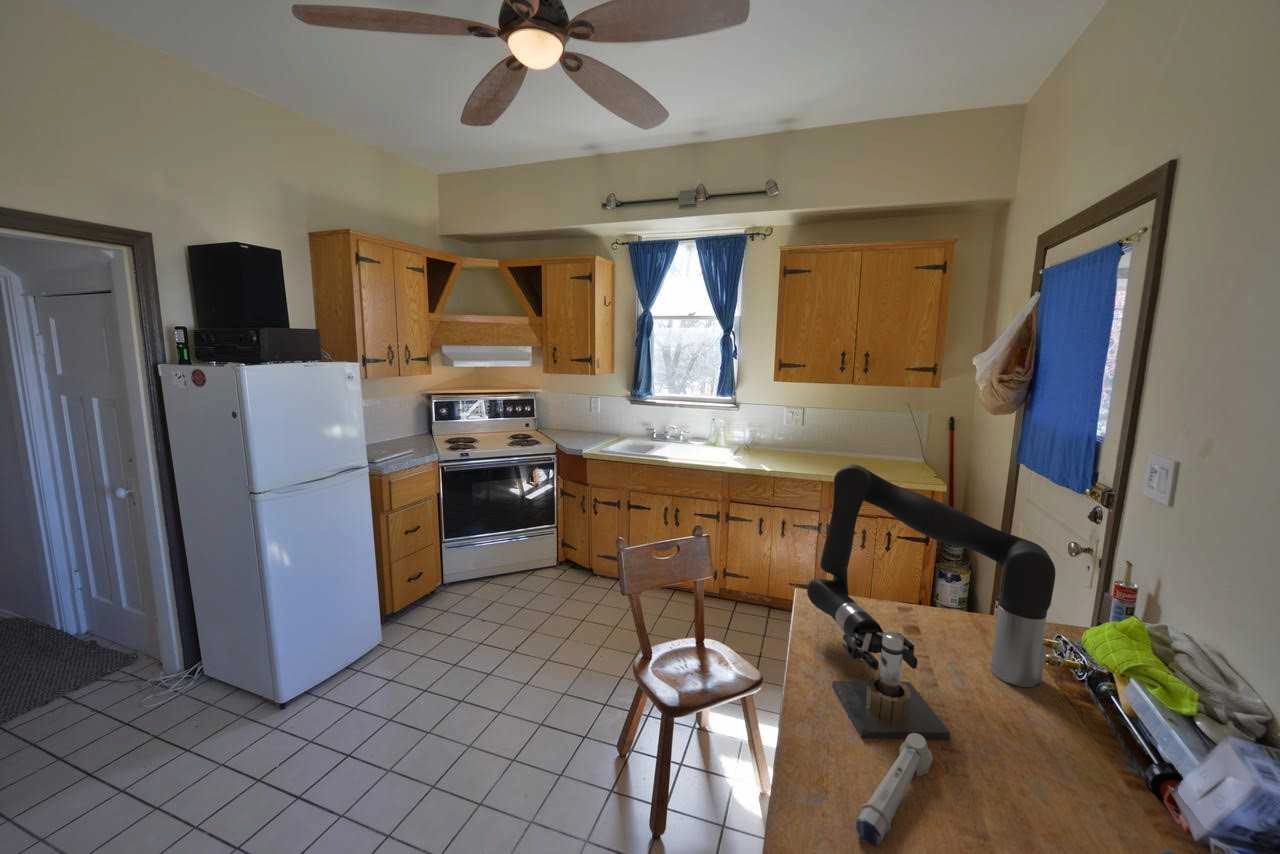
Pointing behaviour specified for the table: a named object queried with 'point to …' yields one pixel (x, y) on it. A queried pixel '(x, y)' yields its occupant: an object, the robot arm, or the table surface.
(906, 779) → the grey faceted piece
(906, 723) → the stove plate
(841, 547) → the robot arm
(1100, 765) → the table surface
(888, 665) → the silver tall cylinder
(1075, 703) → the table surface
